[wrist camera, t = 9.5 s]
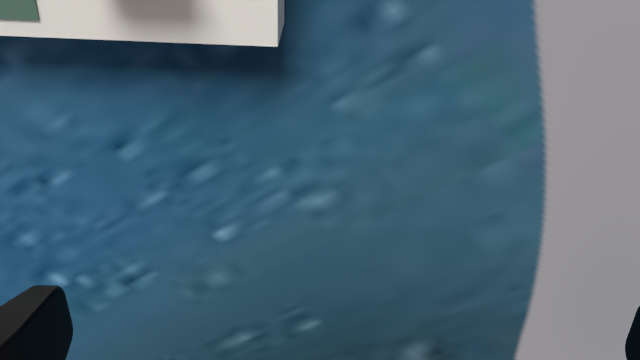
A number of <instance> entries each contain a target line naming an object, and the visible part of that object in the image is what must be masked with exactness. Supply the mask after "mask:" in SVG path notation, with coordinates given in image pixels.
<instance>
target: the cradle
mask: <svg viewBox="0 0 640 360" xmlns="http://www.w3.org/2000/svg"><path fill="white" fill-rule="evenodd" d="M283 26H284V0H0V36H20V37H44V38H69V39H94V40H119V41H144V42H168V43H193V44H218V45H243V46H268V47H278V44H279V40H280V37H281V33H282V30H283Z"/></svg>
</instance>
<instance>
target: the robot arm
mask: <svg viewBox="0 0 640 360" xmlns="http://www.w3.org/2000/svg"><path fill="white" fill-rule="evenodd" d="M72 336H73V325H72V320H71V316H70V312H69V308H68V304H67V300H66V296H65V293H64V291H63V289H62V288H61V287H59V286H48V285H36V286H33V287H31V288H29V289H27V290H26V291H24V292H23V293H21V294H19V295H18V296H16V297H15V298H13V299H11V300H10V301H8V302H7V303H5V304H3V305H2V306H0V360H65V359H66V356H67V353H68V350H69V347H70V344H71V341H72ZM625 352H626V358H627V360H640V306H639V307H638V309H637V312H636V314H635V317H634V320H633V323H632V326H631V328H630V331H629V334H628V337H627V340H626V344H625Z"/></svg>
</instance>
